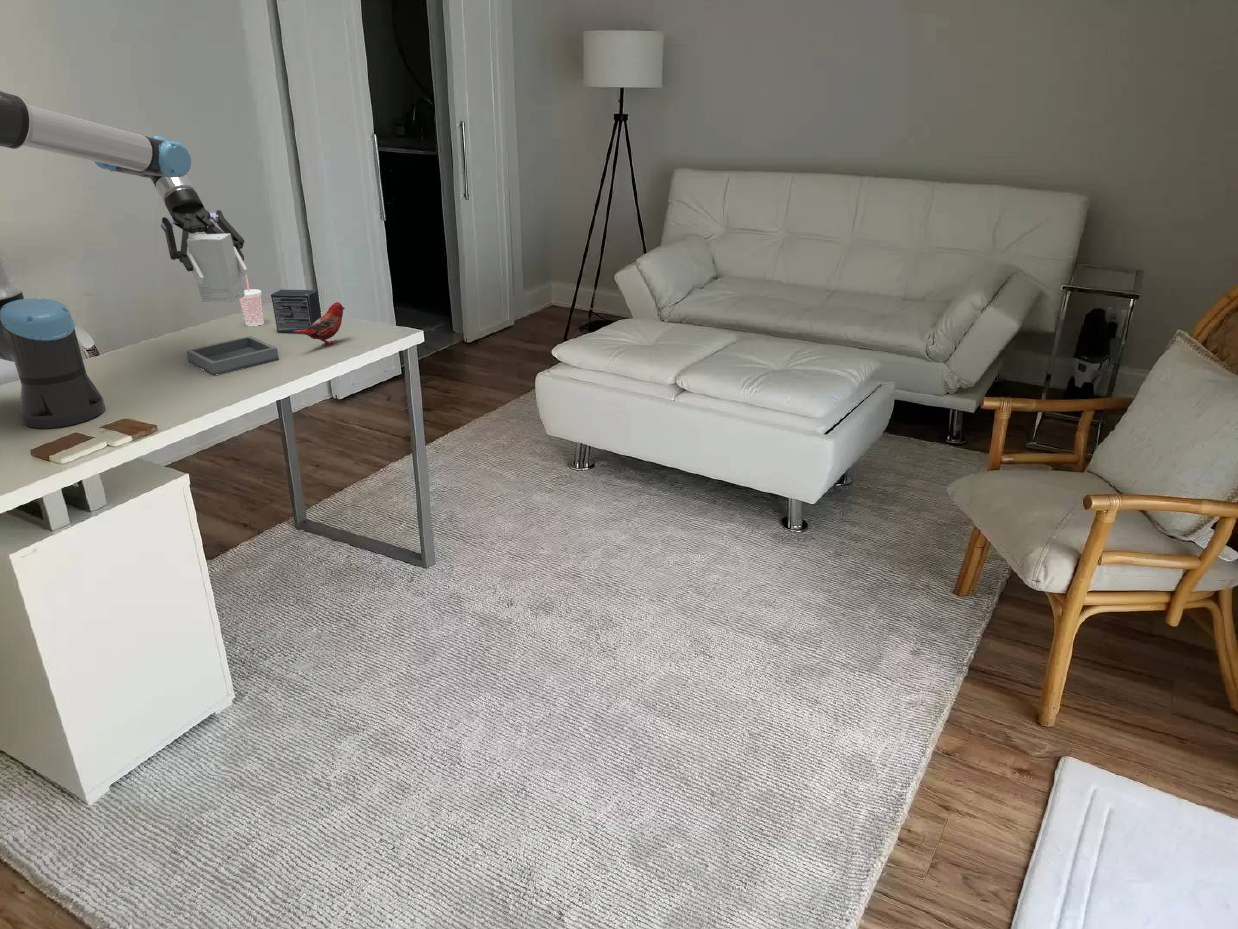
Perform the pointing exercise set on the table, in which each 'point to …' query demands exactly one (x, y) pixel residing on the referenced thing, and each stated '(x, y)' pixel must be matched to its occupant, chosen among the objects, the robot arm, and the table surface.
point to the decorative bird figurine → (325, 325)
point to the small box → (295, 309)
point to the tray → (232, 355)
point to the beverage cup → (252, 306)
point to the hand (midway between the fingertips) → (223, 276)
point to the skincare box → (217, 267)
